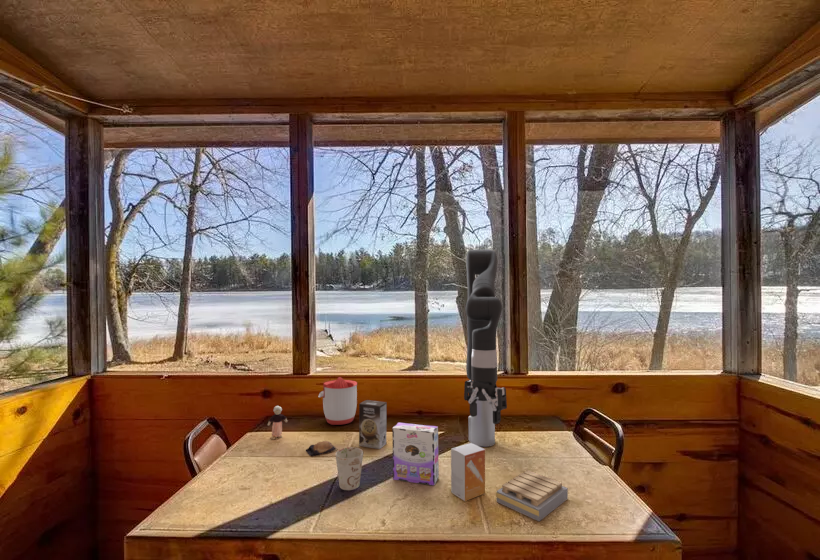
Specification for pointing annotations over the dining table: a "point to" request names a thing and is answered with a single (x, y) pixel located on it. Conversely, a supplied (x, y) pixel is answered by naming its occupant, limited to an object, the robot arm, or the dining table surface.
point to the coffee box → (372, 424)
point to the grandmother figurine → (277, 422)
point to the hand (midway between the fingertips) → (484, 419)
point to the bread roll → (321, 448)
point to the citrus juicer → (339, 401)
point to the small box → (467, 471)
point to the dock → (526, 506)
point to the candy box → (415, 453)
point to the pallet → (532, 487)
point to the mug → (349, 467)
